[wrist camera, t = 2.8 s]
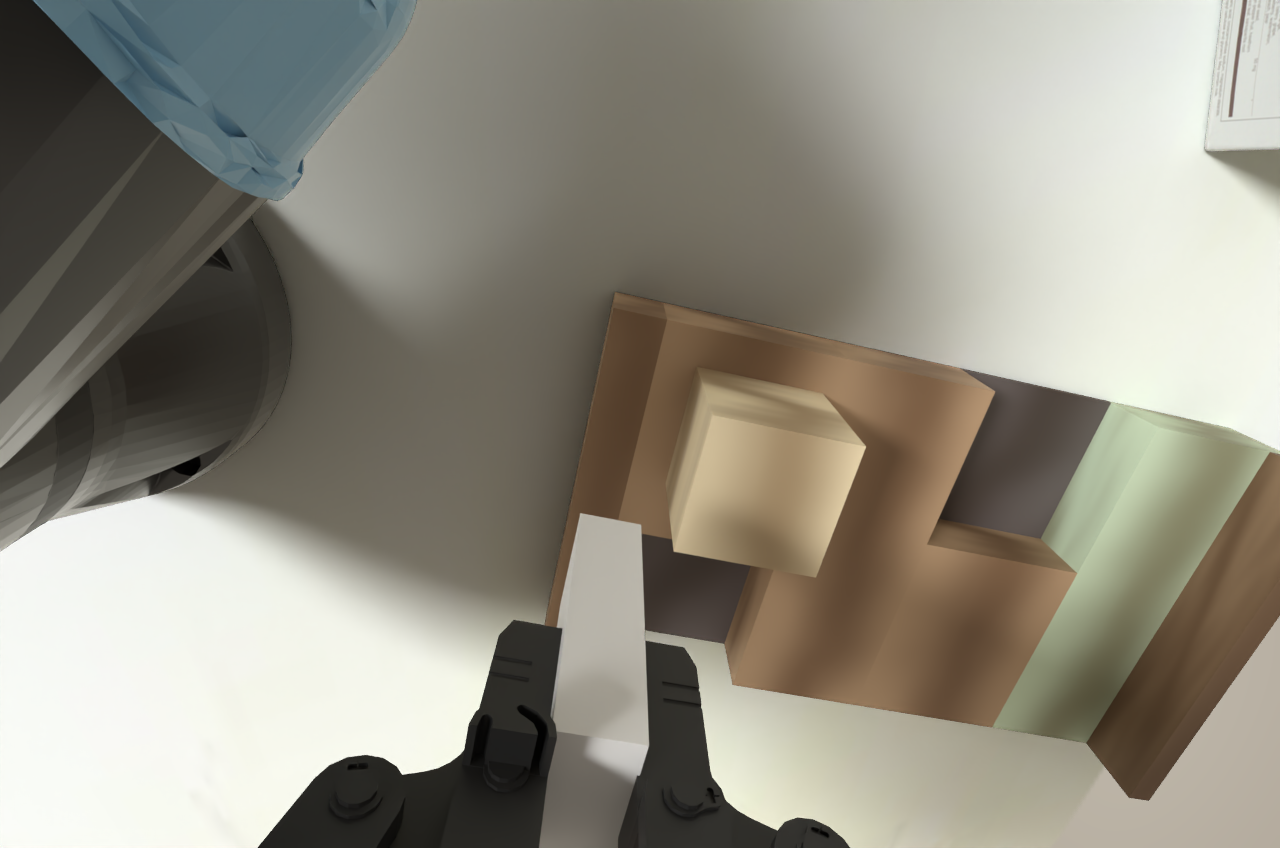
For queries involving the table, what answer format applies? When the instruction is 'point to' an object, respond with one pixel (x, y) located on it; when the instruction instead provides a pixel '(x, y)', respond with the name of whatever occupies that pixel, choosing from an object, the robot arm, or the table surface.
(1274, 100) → the supplement box
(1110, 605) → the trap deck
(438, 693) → the table surface
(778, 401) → the maple block
